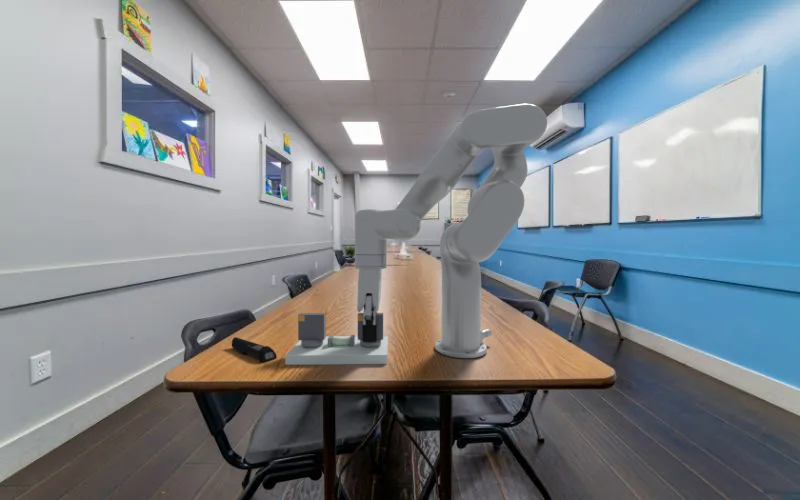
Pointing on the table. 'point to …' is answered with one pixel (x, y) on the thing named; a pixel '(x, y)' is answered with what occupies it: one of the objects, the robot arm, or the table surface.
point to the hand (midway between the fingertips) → (370, 336)
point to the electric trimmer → (254, 349)
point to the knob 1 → (311, 329)
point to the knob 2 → (379, 330)
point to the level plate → (338, 352)
